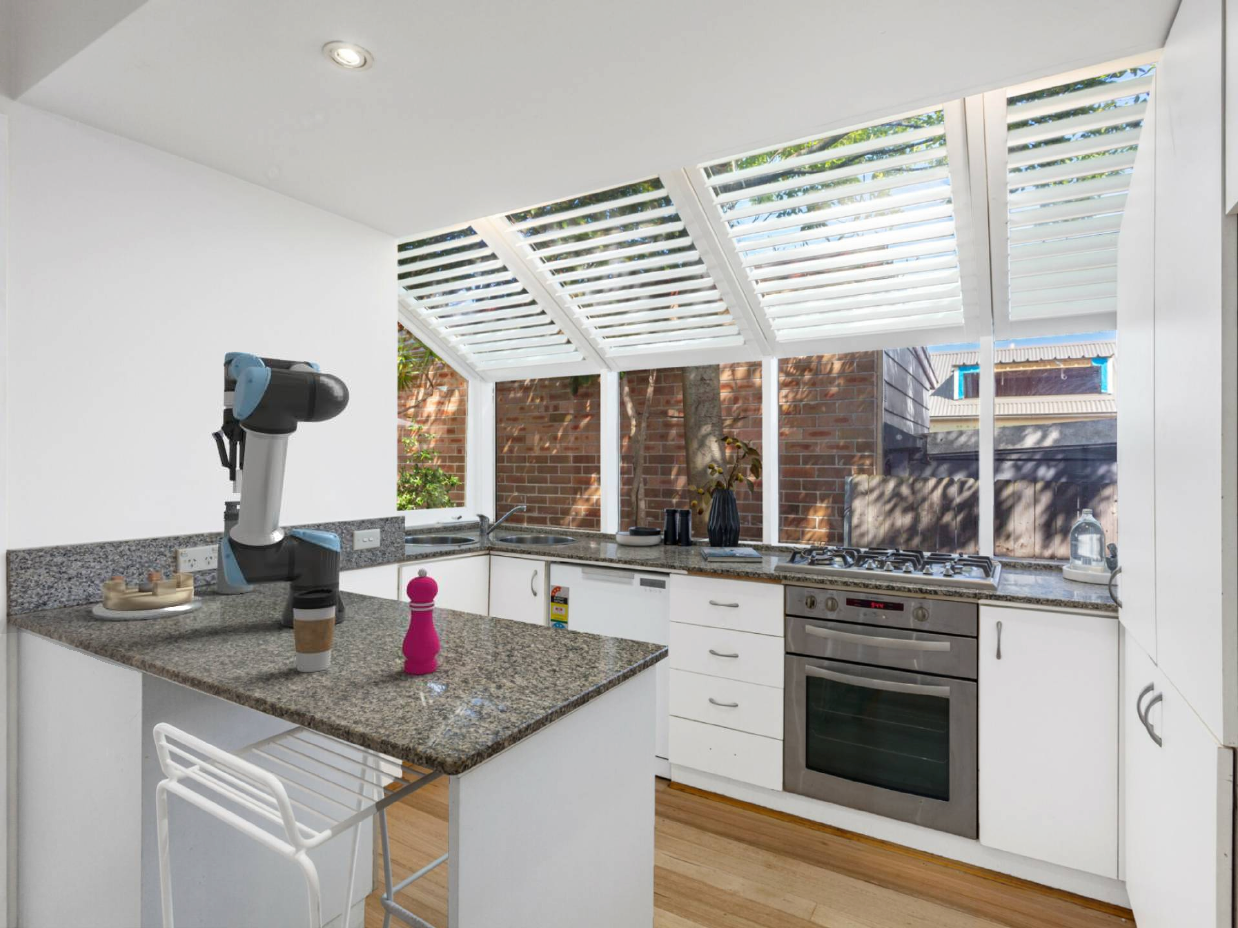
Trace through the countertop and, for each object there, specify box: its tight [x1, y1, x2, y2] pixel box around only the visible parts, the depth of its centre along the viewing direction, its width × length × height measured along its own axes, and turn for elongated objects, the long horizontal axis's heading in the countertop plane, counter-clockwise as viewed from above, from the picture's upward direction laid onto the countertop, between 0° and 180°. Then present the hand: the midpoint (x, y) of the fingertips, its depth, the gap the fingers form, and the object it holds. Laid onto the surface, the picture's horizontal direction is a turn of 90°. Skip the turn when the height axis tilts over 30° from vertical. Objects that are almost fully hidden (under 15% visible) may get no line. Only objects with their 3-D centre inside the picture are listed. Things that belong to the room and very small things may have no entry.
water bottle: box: [216, 500, 254, 595], centre depth 210 cm, size 10×10×28 cm
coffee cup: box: [291, 588, 338, 673], centre depth 134 cm, size 8×8×15 cm
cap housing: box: [92, 595, 203, 622], centre depth 182 cm, size 24×24×4 cm
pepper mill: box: [401, 567, 441, 675], centre depth 134 cm, size 7×7×20 cm
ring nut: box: [102, 571, 195, 610], centre depth 182 cm, size 20×20×6 cm
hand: (237, 492), depth 190 cm, fingers closed
